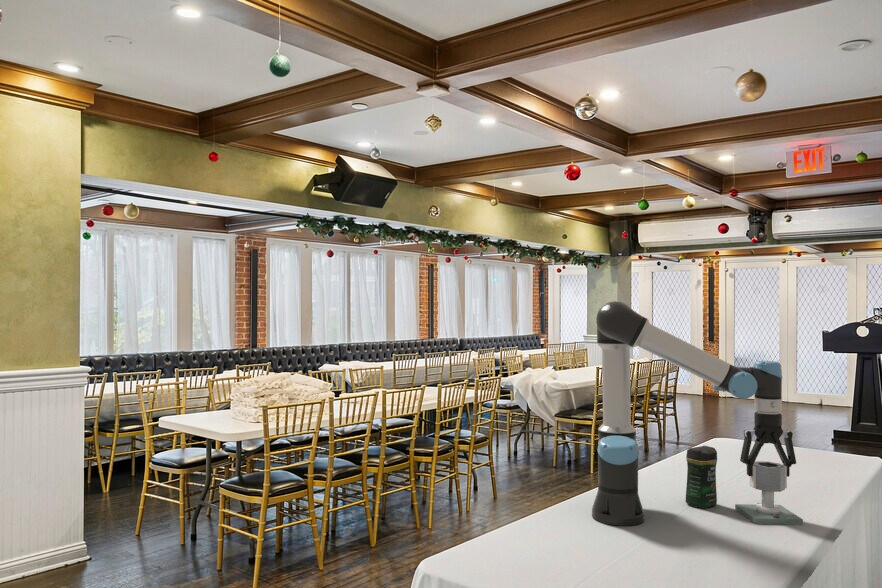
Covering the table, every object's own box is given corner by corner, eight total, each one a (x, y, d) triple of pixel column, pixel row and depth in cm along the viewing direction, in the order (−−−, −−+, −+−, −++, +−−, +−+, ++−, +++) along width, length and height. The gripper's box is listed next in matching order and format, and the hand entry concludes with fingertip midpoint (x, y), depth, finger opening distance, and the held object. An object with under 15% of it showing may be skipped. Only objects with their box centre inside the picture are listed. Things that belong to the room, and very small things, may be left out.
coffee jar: (703, 510, 211) (703, 450, 211) (681, 504, 218) (681, 446, 218) (721, 505, 217) (721, 447, 217) (699, 499, 223) (699, 442, 223)
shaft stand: (754, 523, 199) (754, 487, 199) (735, 508, 213) (735, 475, 213) (802, 524, 198) (802, 488, 198) (780, 509, 212) (780, 476, 212)
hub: (760, 491, 202) (760, 467, 202) (748, 483, 210) (748, 461, 210) (788, 491, 201) (788, 468, 201) (775, 484, 210) (775, 461, 210)
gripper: (737, 413, 203) (737, 490, 202) (809, 414, 202) (809, 490, 202) (727, 409, 210) (727, 483, 210) (797, 410, 209) (797, 484, 209)
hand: (768, 486), depth 206 cm, fingers closed on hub, 8 cm apart
